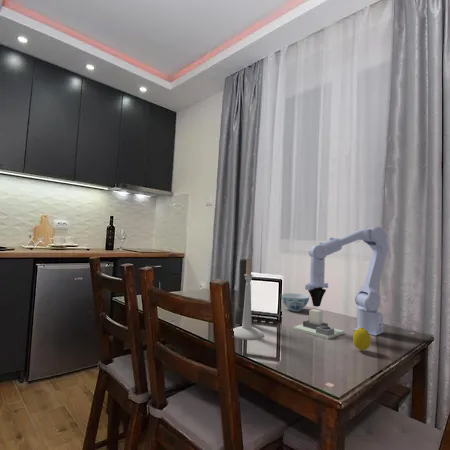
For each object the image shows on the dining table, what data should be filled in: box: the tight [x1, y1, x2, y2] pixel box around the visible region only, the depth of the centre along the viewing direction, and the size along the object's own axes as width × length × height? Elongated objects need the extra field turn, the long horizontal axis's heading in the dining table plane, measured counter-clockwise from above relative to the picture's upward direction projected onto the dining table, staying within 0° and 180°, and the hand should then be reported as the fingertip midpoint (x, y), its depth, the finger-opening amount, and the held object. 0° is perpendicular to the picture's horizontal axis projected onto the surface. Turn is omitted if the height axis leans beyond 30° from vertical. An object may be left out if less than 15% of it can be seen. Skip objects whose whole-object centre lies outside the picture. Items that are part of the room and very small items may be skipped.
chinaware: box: [281, 292, 310, 312], centre depth 168 cm, size 15×15×8 cm
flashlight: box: [234, 258, 247, 326], centre depth 136 cm, size 7×28×7 cm
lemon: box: [352, 327, 372, 352], centre depth 106 cm, size 6×6×8 cm
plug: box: [308, 308, 324, 325], centre depth 130 cm, size 5×3×7 cm, turn 42°
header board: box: [292, 319, 345, 340], centre depth 128 cm, size 16×13×3 cm
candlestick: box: [232, 257, 264, 341], centre depth 120 cm, size 13×13×30 cm
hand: (316, 306), depth 130 cm, fingers closed
